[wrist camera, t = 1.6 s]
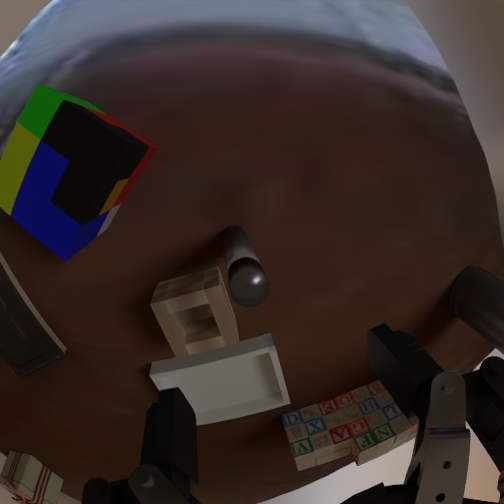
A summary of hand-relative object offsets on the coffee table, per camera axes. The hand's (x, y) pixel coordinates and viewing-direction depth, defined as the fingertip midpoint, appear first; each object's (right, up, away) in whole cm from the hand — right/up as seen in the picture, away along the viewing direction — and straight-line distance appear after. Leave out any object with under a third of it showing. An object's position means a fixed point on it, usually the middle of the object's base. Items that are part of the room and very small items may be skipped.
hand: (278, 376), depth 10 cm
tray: (-5, -13, +25) cm, 29 cm away
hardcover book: (-39, -3, +17) cm, 42 cm away
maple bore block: (-7, -1, +21) cm, 22 cm away
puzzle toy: (-17, +14, +14) cm, 26 cm away
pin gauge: (-3, +6, +19) cm, 20 cm away
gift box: (-68, -59, +32) cm, 95 cm away
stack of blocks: (+15, -22, +32) cm, 41 cm away
